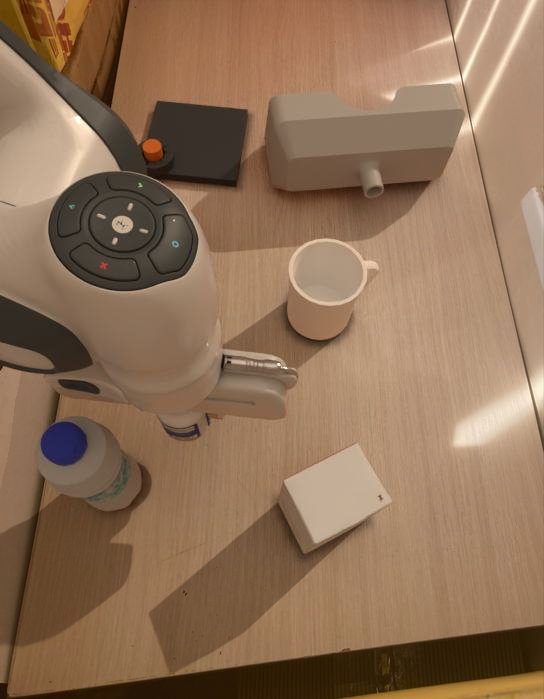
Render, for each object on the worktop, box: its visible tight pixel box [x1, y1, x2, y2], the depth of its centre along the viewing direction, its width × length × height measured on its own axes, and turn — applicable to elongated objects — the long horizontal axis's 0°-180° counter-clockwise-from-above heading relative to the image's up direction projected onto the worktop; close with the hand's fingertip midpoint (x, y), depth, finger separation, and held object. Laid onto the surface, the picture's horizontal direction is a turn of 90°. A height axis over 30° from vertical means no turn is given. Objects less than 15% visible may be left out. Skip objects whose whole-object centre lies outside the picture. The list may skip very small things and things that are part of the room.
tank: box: [264, 82, 466, 199], centre depth 74 cm, size 25×16×12 cm, turn 97°
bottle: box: [34, 415, 142, 512], centre depth 51 cm, size 7×7×20 cm
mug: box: [286, 237, 380, 342], centre depth 65 cm, size 11×9×10 cm
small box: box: [277, 442, 393, 555], centre depth 54 cm, size 8×6×13 cm
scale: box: [138, 100, 249, 188], centre depth 79 cm, size 15×15×3 cm
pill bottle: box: [155, 410, 213, 443], centre depth 53 cm, size 5×5×9 cm
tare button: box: [142, 139, 163, 162], centre depth 76 cm, size 3×3×2 cm
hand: (183, 407), depth 53 cm, fingers closed on pill bottle, 5 cm apart
